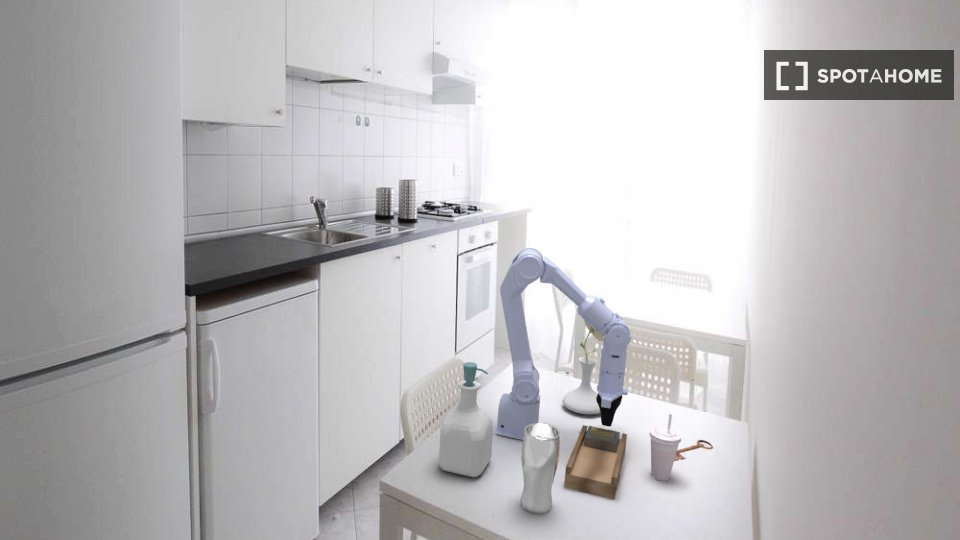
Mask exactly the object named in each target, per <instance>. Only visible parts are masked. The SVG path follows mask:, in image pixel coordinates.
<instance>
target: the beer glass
mask: <svg viewBox="0 0 960 540" xmlns="http://www.w3.org/2000/svg"><path fill="white" fill-rule="evenodd" d="M560 434H561V433H560V430H559V429H558V428H557V427H555V426H553V425H551V424H548V423H543V422H540V423H539V422H538V423H534V424H530V425H528V426H526V427H525V429H524V437H523V440H522V444H521V445H522V446H521V467H522V468H521V470H522V477H523V488H522V493H521V497H520V501H519V503H520V506H521V508H523V510H525V511H526V512H528V513H531V514H538V515H539V514H540V515H541V514H542V515H543V514H546V513H549V512H550V511H551V510H552V509H553V498H552V493H553V492H552V491H553V490H552V489H553V483H554V479H555V477H556V474H557V473H556V472H557V468H558V463H559V459H560V458H559V457H560V449H561V448H560V443H561V442H560V441H561V440H560Z"/></svg>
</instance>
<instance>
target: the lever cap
mask: <svg viewBox="0 0 960 540" xmlns="http://www.w3.org/2000/svg"><path fill="white" fill-rule="evenodd" d="M620 435H621V432H620V431H616V430H612V429H607V428H603V427H602V428H601V427H596V426H592V425H588V426H587V432H586V435H585V438H584V446H588V447H593V448H598V449H602V450H607V451H612V452H616V451H617V447H618V443H619V439H620Z"/></svg>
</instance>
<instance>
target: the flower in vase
mask: <svg viewBox="0 0 960 540" xmlns="http://www.w3.org/2000/svg"><path fill="white" fill-rule="evenodd" d="M583 321H584V325H585V326H586V328H587V330H588V331H589V332H588V333H587V334H586V338H585V339H584V343H583V341H581V342H580V344H579V346H580V347H581V348H582V349H583V350H584V355H585V356H580V357H578V362H579V363H580V366H581V374H582V375H581V382H580V385H579V386H578V387H576V388H575V389H573V390H571V391H569V392H568V393H566V394H565V395H564V396H563V398H562V403H563V406H564V407H565V408H566V409H568V410H569V411H571V412H574V413H577V414H580V415H581V414H582V415H597V414H600V409H599V406H598V403H597V401H596V397H597V395H598V392H597V391H595V390H594V389H593V388H592V385H591V378H592V373H593V369H594V368H595V366H596V364H597V363H598V359H597V358H594V357H591V356H588V355H590V354H592V353H594V352H596V351H597V350H596V349H594V350H592V351H588V352H587V349H586V343H587V340H588V338H589V336H590V334H591V336H592V337H594V338H595V340H597V341H599V342H603V339H604V336H603V335H602V334H601V333H598V332H597V331H596V330H595V329H594V328H593V327H592V326H590V325H589V324H588V323H587V322H586V321H585V320H584V319H583Z"/></svg>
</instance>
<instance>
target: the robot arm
mask: <svg viewBox="0 0 960 540" xmlns="http://www.w3.org/2000/svg"><path fill="white" fill-rule="evenodd" d="M538 279H539V283H540V284H541V283H543V284H551V285H553V286H554V287H556V288H557V289H558V290H559V291H560V292H561V293H562V294H563V295H565V296H566V297H567V298H568V299H569V300H570V301H572V302H573V303H574V304H575V305H576V306H577V314H578V316H580V317H581V319H583V321H584V320H585V321H586V322H587V323H588V324H589V325H590V326H592V327H593V328H594V329H595V330H596V331H597V332H598V333H601V334H602V335H603V336H604V337H603V340H602V349H601V352H600V363H599V371H598V381H597V385H596V392H597V394H598V395H597V397H596V401H597V403H598V406H599V409H600V413H599V414H600V421H601V425H602V426H604V427H608V428H609V427H610V428H611V427H612V425H613V422H614V419H615V418H614V417H615V414H616V412H617V410H618V408H619V407H620V405H621V403H622V399H623V396H627V395H628V393H629V389H626V388H624V382H625V373H626V364H627V356H628V355H627V354H628V353H627V350H628V345H629V344H630V342H631V341H632V336H631V331H630V328H629V327H628V324H627V323H626V322H625V321H624V319H623V317H621V316H620V315H619V314H618V312H615V313H614V311H613V310H611V309H610V308H609V307H608V305H606V304H605V303H606V301H605V299H604V298H602V297H601V296H600V297H598V296H597V295H590V294H588V295H587V294H586V293H585V292H584V291H583V290H582V289H581V287H579V286H578V285H577V284H576V283H575V282H574V281H573V280H572V279H571V278H570V277H569V276H568V275H567V274H566V273H565V272H564V271H563V270H562V269H561V268H560V267H559V266H558V265H556V263H555V262H553V261H552V260H551V259H550V258H549V257H547V256H545V255H544V256H543V254H542V252H540V251H539V250H538V249H536V248H532V247H527V248H523V249H522V250H521V251H520V252H519V253H518V254H517V255H516V256H515V257H513V259H512V261H511V263H510V265H509V267H508V269H507V272H506V273H505V276H504V278H503V280H502V281H501V284H500V288H499V293H500V298H501V299H500V300H501V304H502V309H503V316H504V320H505V321H504V322H505V327H506V328H505V329H506V332H507V339H508V345H509V351H510V355H511V363H512V377H513V380H512V381H513V382H512V386H511V391H510V392H509V393H503V394H502V395H500V396H501V397H500V400H499V404H498V410H497V422H496V423H497V426H496V432H495V434H496V435H498V436H502V437H507V438H511V439H515V440H516V439H517V440H520V441H523V437H524V429H525V427H526V426H528V425H530V424H534V423H539V417H540V404H541V395H540V385H539V384H540V383H539V382H540V373H539V371H538V369H537V368H536V367H535V365H534V360H533V357H532V351H531V347H530V341H529V340H530V339H529V334H528V333H529V332H528V329H527V321H526V316H525V311H524V304H523V299H522V294H523V292H524V291H525V290H526V288H527V287H528V286H529V285H530V284H532V283H534V282H536V281H537V280H538ZM585 321H584V322H585Z"/></svg>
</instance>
